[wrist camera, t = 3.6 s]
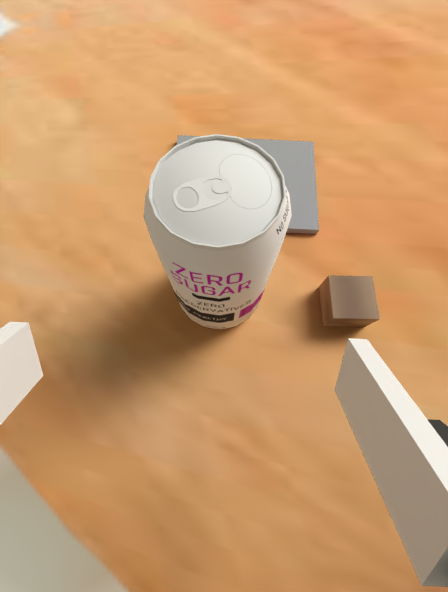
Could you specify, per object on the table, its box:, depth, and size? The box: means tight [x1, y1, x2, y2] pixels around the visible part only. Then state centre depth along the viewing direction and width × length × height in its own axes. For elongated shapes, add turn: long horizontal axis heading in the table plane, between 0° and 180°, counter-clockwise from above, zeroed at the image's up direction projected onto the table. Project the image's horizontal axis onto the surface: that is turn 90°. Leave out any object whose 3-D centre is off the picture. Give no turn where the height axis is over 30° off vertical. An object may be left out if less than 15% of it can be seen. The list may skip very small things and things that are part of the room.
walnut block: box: [319, 276, 380, 327], centre depth 27 cm, size 4×4×3 cm
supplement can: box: [144, 134, 292, 329], centre depth 22 cm, size 8×8×15 cm
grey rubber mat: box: [177, 135, 319, 234], centre depth 33 cm, size 16×12×1 cm
